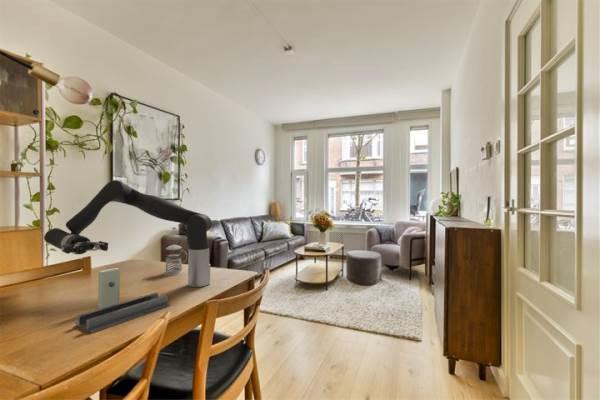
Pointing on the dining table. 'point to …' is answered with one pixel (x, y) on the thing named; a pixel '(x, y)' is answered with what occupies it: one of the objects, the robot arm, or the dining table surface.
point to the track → (120, 312)
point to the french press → (172, 258)
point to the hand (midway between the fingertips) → (94, 249)
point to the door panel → (108, 287)
